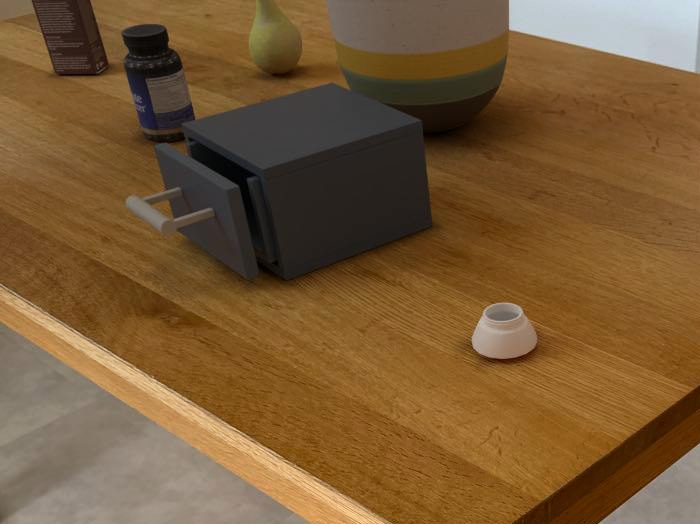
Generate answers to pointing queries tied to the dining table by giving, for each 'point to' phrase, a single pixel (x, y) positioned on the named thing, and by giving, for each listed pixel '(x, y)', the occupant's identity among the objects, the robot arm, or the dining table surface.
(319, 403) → the dining table surface
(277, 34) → the fruit
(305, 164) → the cabinet
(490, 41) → the planter
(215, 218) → the drawer
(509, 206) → the dining table surface
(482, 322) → the lidless jar
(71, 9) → the box
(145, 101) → the pill bottle
